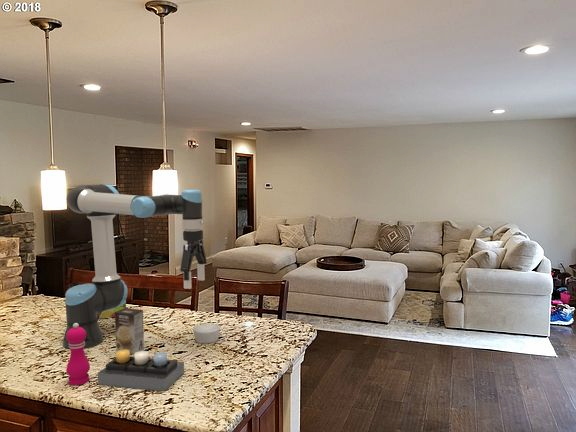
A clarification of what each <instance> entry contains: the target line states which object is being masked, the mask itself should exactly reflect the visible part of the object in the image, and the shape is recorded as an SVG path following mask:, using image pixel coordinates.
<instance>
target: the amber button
mask: <svg viewBox="0 0 576 432" xmlns="http://www.w3.org/2000/svg"><path fill="white" fill-rule="evenodd" d="M130 357H131V354H130V352H129V350H127V349H123V350H119V351H117V352H116V351H115V358H116V362H117V363H119V364H125V365H126V364H127V362H128V361H129V360H130Z"/></svg>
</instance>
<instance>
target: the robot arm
mask: <svg viewBox="0 0 576 432" xmlns="http://www.w3.org/2000/svg"><path fill="white" fill-rule="evenodd" d="M202 197H203V195H202V191H201V190H200V189H183V190H182V191H181V194H168V193H167V194H160V195H153V196H151V195H150V196H149V195H134V194H133V195H132V194H122V193H120V192H119V191H118V190H117V189H116V187H114V186H112V184H111V185H110V184H86V185H84V184H82V185H77V186H74V187H72V188H71V189H70V190H69V192H67V194H66V204H67V206H68V208H69V209H70V210H71V211H73V212H74V213H77V214H86V218H87V219H89V221H90V222H91V223H90V224H91V236H92V247H93V248H92V249H93V259H94V260H93V261H94V263H93V264H94V272H95V276H94V277H93V278H92V279H91V283H83V284H78V285H74V286H72V287H69V288H68V289H67V290H66V292H65V294H64V295H65V298H64V302H65V303H64V304H65V314H66V315H65V316H66V317H65V318H66V319H65V320H66V329H65V332H64V336H63V338H62V346H63V348H65V347H66V348H65V349H68V348H69V341H68V340H67V338H66V335H67V332H68V331H69V330H70V329H71V328H73V324H74V323H78V324H79V326H78V327H81V328H83V329H84V330H85V331H86V338H85V339H84V341H85V346H84V349H87V348H91V347H95V346H98V345H100V344H101V343H103V341H104V334H103V332H102V329H101V327H100V324H99V321H98V320H99V319H98V318H97V313H100V312H103V311H106V310H109V309H111V308H112V309H113V308H116V307H117V306H119V305H121V304H123V303H124V301H125V300H126V301H127V298H128V293H129V292H128V287H127V284H126V283H125V282H124V280H122V279H121V278H122V277H121V276H120V275H119V274H118V272H117V263H116V261H117V260H116V249H115V248H116V247H115V238H114V237H115V236H114V235H115V234H114V224H113V223H114V222H113V219H114V218H115V217H116V215H117V214H118V215H129V216H135V218H139V219H141V218H145V219H147V218H149V217H158V216H167V215H181V216H182V230H183V232H182V239H183V241H185V242H187V243H186V244H183V246H182V247H183V249H182V257H181V264H180V268H179V269H180V272H182V273H183V274H182V275H183V289H186V290H187V289H189V290H191V289H192V287H193V286H192V271H191V267H192V264H193V260H194V259H193V258H194V257H195V260H196V261H197V264H196V267H197V269H196V270H197V271H196V272H197V281H205V279H206V278H205V277H206V276H205V265H206V264H207V262H208V261H207V256H206V252H205V247H204V241H203V240H204V230H203V227H204V226H203V224H204V221H203V198H202Z"/></svg>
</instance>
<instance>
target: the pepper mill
mask: <svg viewBox="0 0 576 432" xmlns="http://www.w3.org/2000/svg"><path fill="white" fill-rule="evenodd" d="M78 326H79V324H78V323H74V324H73V328H71V329H70V330H69V331H68V332H67V335H66V338H67V340H68V341H69V348H70V349H69V351H70V357H69V360H68V362H67V365H66V371H65V372H66V374H67V376H69V377H68V384H69V385H70V386H81V385H83V384H86V383H88V382H89V380H90V375H89V371H90V368H91V365H90V362H89V360H88V358H87V355H86V354H85V348H84V346H85V341H84V339H85V338H86V331H85V330H84V329H83V328H81V327H78Z"/></svg>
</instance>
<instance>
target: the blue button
mask: <svg viewBox="0 0 576 432" xmlns="http://www.w3.org/2000/svg"><path fill="white" fill-rule="evenodd" d="M152 358H154V366H157V367H159V368H164V365H166V364H167V360H168V353H167V352H156V353H154V354H153V356H152Z"/></svg>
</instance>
